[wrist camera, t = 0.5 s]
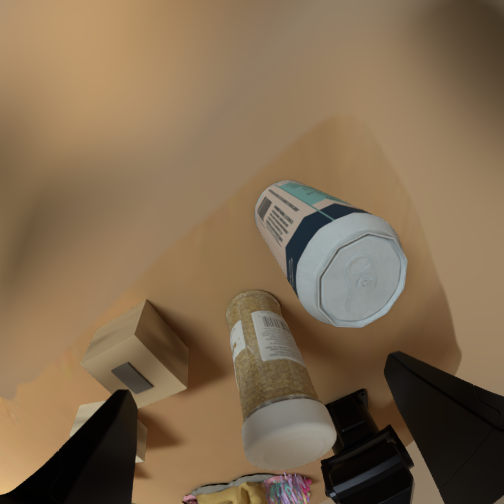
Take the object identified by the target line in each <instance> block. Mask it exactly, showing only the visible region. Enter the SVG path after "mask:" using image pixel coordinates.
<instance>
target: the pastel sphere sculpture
mask: <svg viewBox="0 0 504 504" xmlns="http://www.w3.org/2000/svg"><path fill="white" fill-rule="evenodd" d="M284 474H285V475H284V476H282V475H281V476H273V475H254V476H246V477H242V478H239V479H238V480H237V481H234V482H231V483H230V484H229V485H216V486H206V487H201V488H198V489H197V490H196V491H193V492H192V493H191V494H190V495H188V496H184V497H183V498H184V501H182V502H183V503H184V504H308V502H309V497H310V495H311V494H310V492H309V490H310V487H308V485H310V484H311V480H310V479H305V476H304V479H302V477H301V476H300V474H298V475H297V476H296V473H295V476H293V477H292V475H290V474H289V475H288V476H286V473H284ZM307 501H308V502H307Z"/></svg>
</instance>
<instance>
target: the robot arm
mask: <svg viewBox="0 0 504 504" xmlns="http://www.w3.org/2000/svg"><path fill="white" fill-rule="evenodd" d="M384 375H385V378H386V380H387V383H388V385H389V388H390V390H391V393H392V395H393V398H394V400H395V403H396V405H397V408H398V410H399V412H400V414H401V415H402V417H403V419H404V421H405V423H406V425H407V427H408V429H409V431H410V433H411V435H412V437H413V438H414V440H415V442H416V444H417V446H418V448H419V450H420V452H421V454H422V456H423V458H424V460H425V462H426V465H427V467H428V468H429V471H430V473H431V475H432V477H433V479H434V481H435V483H436V486H437V488H438V489H439V492H440V495H441V497H442V499H443V501H444V503H445V504H504V396H501V395H498V394H495V393H492V392H490V391H487V390H485V389H482V388H480V387H478V386H475V385H473V384H471V383H469V382H466V381H464V380H462V379H460V378H457V377H455V376H453V375H451V374H449V373H446V372H444V371H442V370H440V369H438V368H435V367H433V366H431V365H429V364H427V363H424V362H422V361H420V360H418V359H416V358H414V357H411V356H409V355H407V354H405V353H403V352H401V351H396V352H392V353H390V354H389V355H388V357H387V361H386V365H385V368H384ZM325 407H326V408H327V410H328V412H329V415H330V417H331V419H332V422H333V424H334V427H335V430H336V433H337V437H336V441H335V443H334V445H333V446H332V450H333V452H334V456H332V457H330V458H327V459H324V460H321V464H322V466H321V470H322V473H323V478H324V482H325V494H326V496H327V497H330V498H332V500H333V501H334V502H335V503H336V504H412V499H413V493H414V486H415V483H414V479H413V476H412V474H411V472H410V470H409V469H410V468H412V467H413V466H414V463H413V461H412V459H411V457H410V455H409V454H408V452H407V450H406V448H405V447H404V445H403V443H402V442H401V440H400V439H399V437H398V436H397V434H396V432H395V431H394V429H393V428H392V426H391V425H390V424H389V425H388V426H386V428H384V429H383V430H381V431H379V429H378V427H377V425H376V424H375V422H374V420H373V418H372V417H371V415H370V413H369V411H368V402H367V392H366V391H365V389H362V390H359V391H357V392H355V393H353V394H351V395H349V396H346V397H344V398H342V399H340V400H337V401H335V402H333V403H330V404H328V405H325ZM137 419H138V408H137V404H136V402H135V400H134V398H133V396H132V394H131V392H130V390H128V389H117V390H116V391H115V392H114V393H113V394H112V395H111V396H110V397H109V398H108V399H107V400H106V401H105V402H104V403H103V405H102V406H101V407H100V408H99V409H98V410H97V411H96V412H95V413H94V414H93V415H92V416H91V417H90V418H89V419H88V420H87V421H86V422H85V423H84V424H83V425H82V426H81V427H80V428H79V429H78V430H77V431H76V432H75V434H74V435H73V436H72V437H71V438H70V439H69V440H68V441H67V442H66V443H65V444H64V445H63V446H62V447H61V448H60V449H59V451H57V452H56V453H55V454H54V455H53V456H52V457H51V458H50V459H49V460H48V461H47V462H46V463H45V464H44V465H43V466H42V467H41V468H40V469H38V470H37V471H36V472H35V473H34V474H32V475H31V476H30V477H29V478H28V479H26V480H25V481H24V482H23V483H21V484H20V485H19V486H18V487H16V488H15V489H14V490H12V491H10V492H9V493H6V494H2V495H0V504H131V501H132V490H133V479H134V470H135V461H136V453H137Z"/></svg>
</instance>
